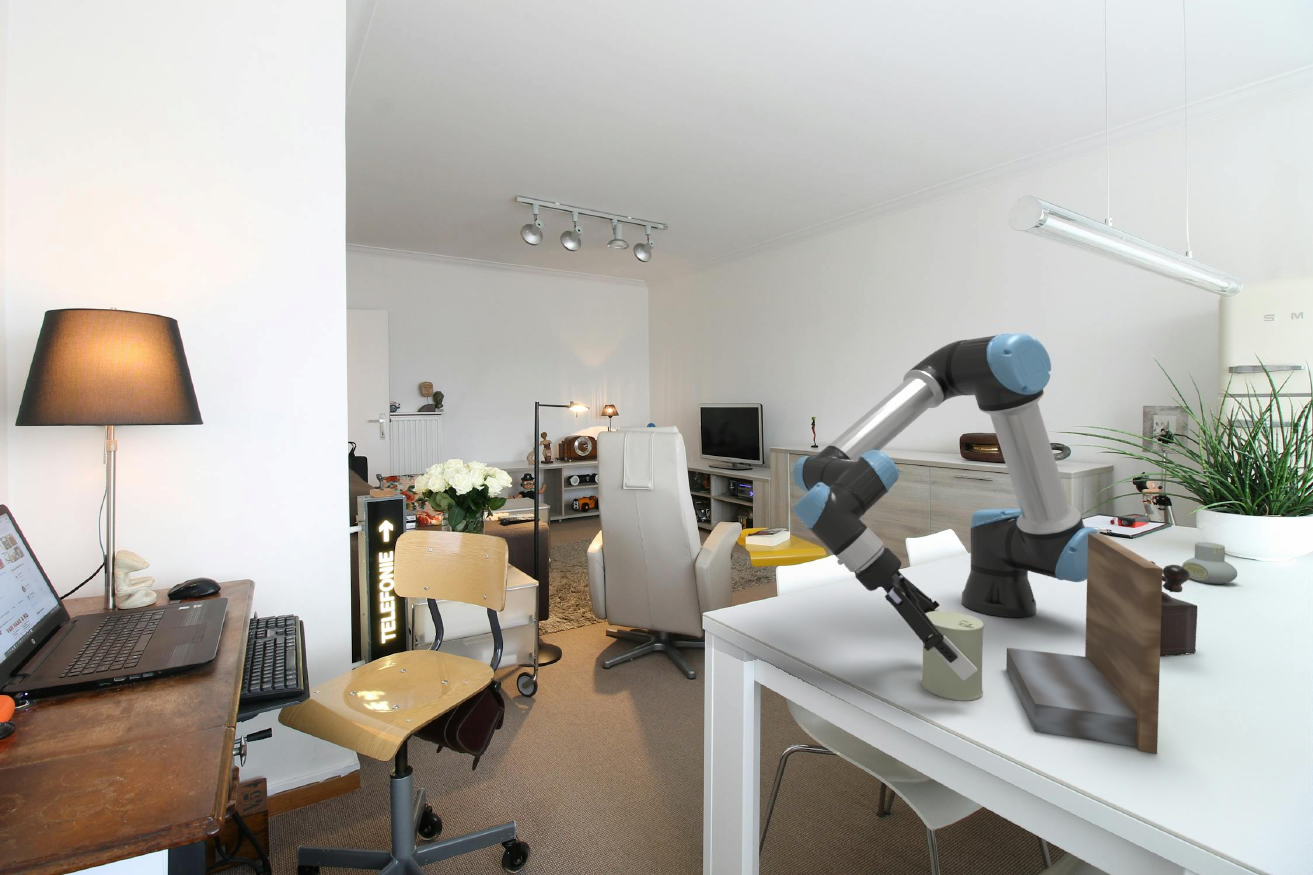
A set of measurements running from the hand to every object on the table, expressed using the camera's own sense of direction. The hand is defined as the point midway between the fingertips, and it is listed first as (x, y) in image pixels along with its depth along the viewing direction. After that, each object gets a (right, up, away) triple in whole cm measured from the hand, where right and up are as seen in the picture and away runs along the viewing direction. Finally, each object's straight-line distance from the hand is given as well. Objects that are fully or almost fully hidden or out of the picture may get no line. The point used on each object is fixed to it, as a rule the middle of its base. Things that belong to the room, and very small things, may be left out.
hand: (965, 657), depth 100 cm
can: (-2, -6, +1) cm, 6 cm away
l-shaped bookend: (+14, -5, -5) cm, 16 cm away
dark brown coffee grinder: (+45, -5, +16) cm, 48 cm away
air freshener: (+97, -2, +62) cm, 115 cm away
